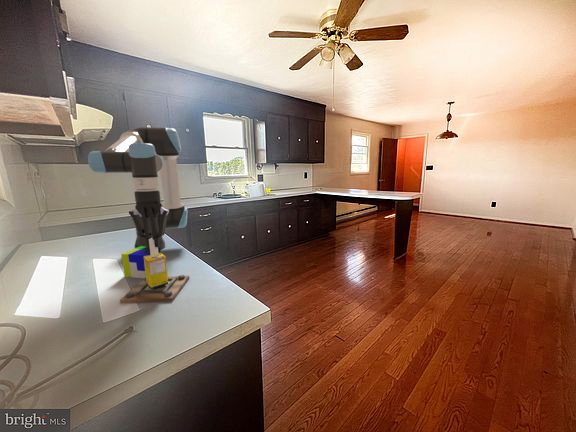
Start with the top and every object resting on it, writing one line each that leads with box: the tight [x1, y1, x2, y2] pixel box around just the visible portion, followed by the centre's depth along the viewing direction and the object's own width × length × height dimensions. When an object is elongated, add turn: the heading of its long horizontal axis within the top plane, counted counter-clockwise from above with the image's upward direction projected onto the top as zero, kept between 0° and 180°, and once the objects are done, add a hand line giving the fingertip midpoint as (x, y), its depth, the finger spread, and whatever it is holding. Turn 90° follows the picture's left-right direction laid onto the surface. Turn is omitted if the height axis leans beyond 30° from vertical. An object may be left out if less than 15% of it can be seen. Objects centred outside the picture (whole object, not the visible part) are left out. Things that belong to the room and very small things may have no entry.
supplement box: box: [144, 252, 169, 289], centre depth 87 cm, size 6×6×11 cm
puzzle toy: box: [121, 246, 162, 279], centre depth 102 cm, size 10×10×10 cm
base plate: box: [119, 274, 190, 304], centre depth 88 cm, size 17×17×2 cm
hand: (154, 255), depth 86 cm, fingers closed
